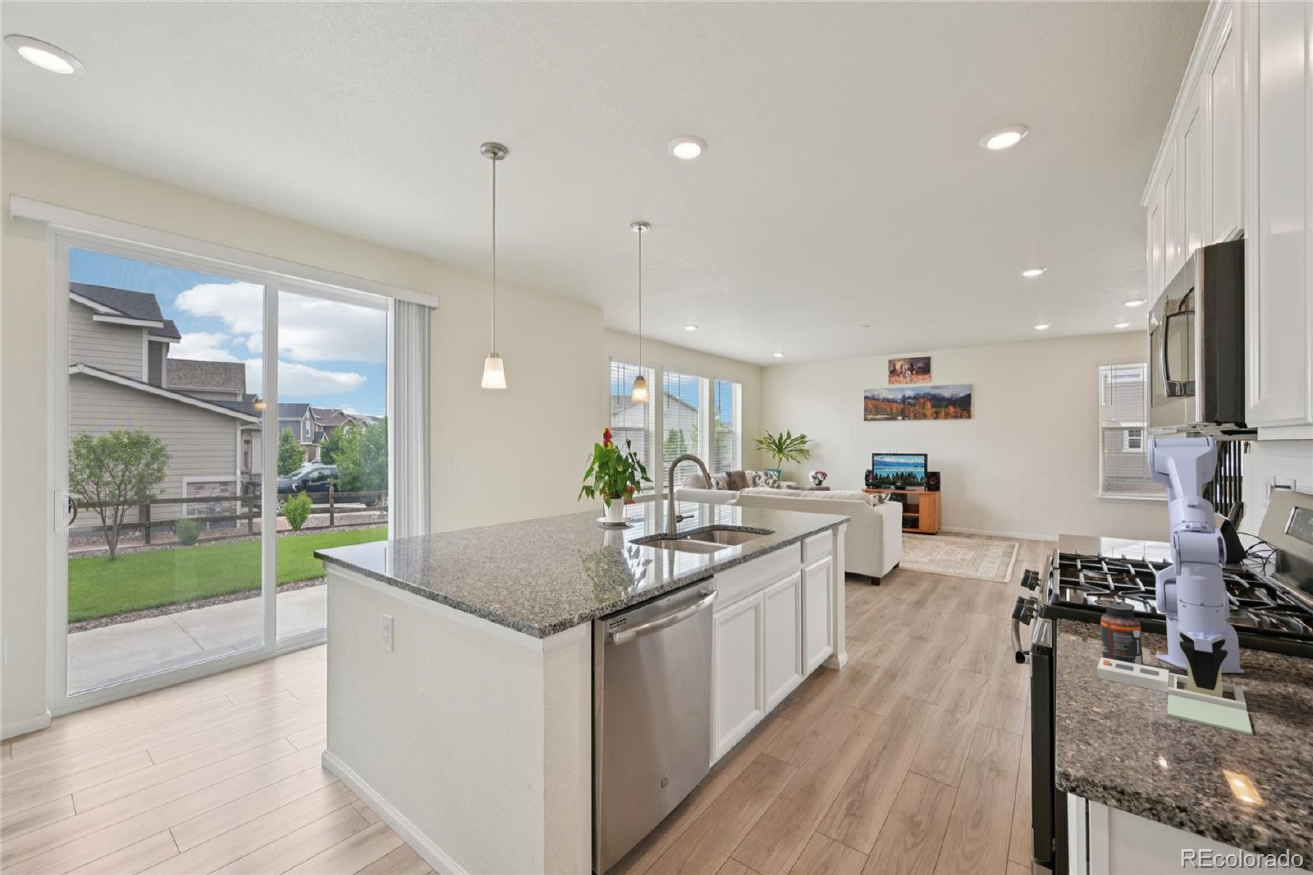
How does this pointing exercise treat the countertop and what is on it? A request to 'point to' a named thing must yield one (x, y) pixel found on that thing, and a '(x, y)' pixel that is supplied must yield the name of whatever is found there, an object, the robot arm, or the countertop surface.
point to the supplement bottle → (1121, 634)
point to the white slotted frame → (1163, 682)
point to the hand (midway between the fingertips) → (1204, 683)
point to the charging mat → (1209, 714)
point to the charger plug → (1193, 688)
